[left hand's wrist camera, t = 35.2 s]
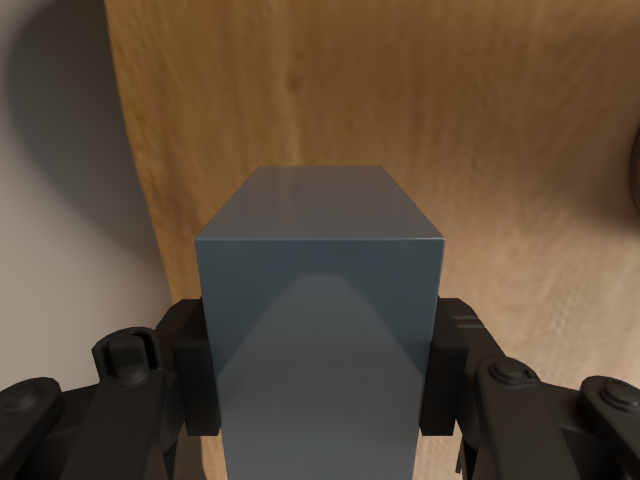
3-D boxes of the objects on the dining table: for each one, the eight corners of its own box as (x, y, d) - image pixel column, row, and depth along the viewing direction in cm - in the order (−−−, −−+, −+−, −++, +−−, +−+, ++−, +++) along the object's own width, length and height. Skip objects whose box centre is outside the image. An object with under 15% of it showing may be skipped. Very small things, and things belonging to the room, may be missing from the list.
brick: (258, 165, 15) (192, 238, 7) (382, 165, 15) (447, 238, 7) (268, 323, 18) (228, 494, 10) (372, 323, 18) (411, 494, 10)
